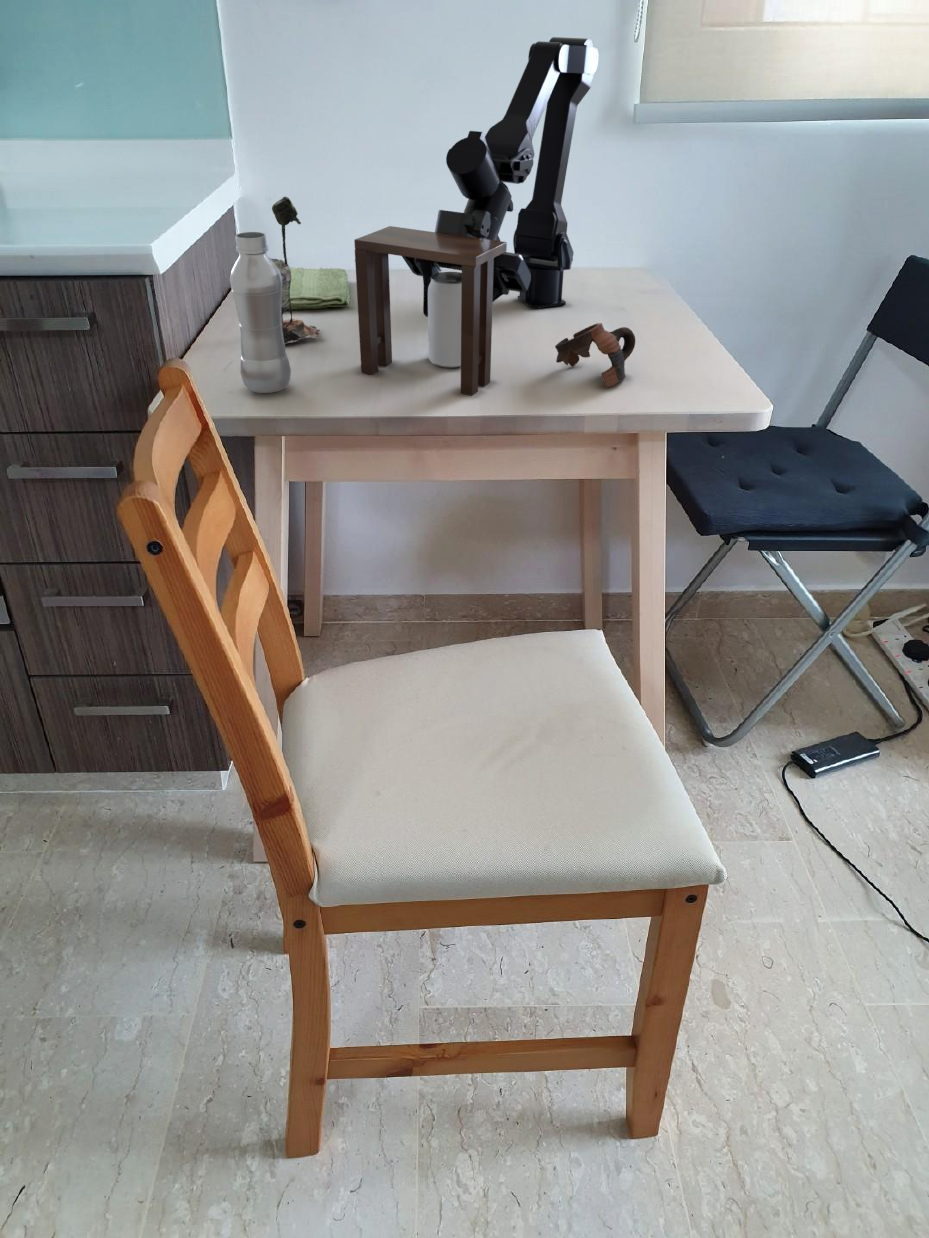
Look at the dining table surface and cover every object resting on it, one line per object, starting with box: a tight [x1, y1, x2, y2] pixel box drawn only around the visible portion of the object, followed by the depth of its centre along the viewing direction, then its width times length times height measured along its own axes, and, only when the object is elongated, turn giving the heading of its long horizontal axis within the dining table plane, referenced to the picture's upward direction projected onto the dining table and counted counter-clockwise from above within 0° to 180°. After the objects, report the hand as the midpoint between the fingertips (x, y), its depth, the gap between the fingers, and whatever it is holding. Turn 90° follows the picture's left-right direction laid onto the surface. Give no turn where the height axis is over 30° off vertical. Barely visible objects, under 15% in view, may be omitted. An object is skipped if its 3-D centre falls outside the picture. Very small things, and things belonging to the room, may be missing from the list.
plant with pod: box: [269, 196, 320, 344], centre depth 137 cm, size 8×11×20 cm
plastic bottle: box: [229, 231, 292, 394], centre depth 120 cm, size 6×7×20 cm
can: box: [427, 271, 462, 369], centre depth 132 cm, size 6×6×12 cm
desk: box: [354, 225, 508, 397], centre depth 127 cm, size 9×18×18 cm, turn 62°
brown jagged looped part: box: [554, 322, 636, 389], centre depth 131 cm, size 12×10×8 cm
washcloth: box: [287, 266, 351, 311], centre depth 161 cm, size 13×18×3 cm
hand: (445, 318), depth 131 cm, fingers closed on can, 6 cm apart
